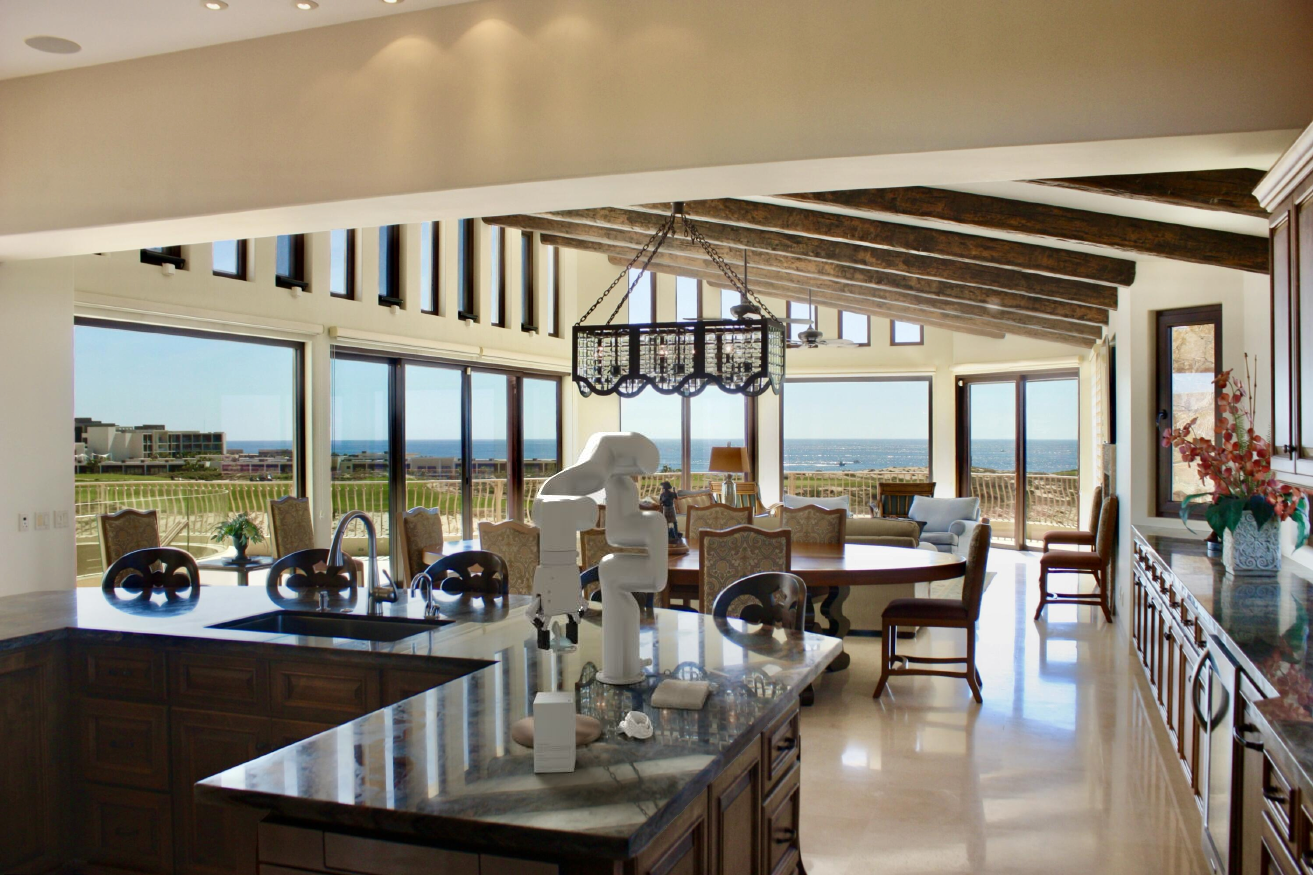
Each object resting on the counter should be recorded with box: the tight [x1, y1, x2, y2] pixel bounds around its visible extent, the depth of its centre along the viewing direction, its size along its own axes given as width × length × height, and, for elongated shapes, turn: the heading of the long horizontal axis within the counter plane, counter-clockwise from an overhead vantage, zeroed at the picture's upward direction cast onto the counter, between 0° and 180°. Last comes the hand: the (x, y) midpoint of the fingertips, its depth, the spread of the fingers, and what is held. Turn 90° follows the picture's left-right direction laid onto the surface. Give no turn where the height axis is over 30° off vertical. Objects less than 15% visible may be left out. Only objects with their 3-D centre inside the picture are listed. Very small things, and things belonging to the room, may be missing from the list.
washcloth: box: [650, 678, 711, 710], centre depth 205 cm, size 12×18×3 cm, turn 170°
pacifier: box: [549, 620, 578, 655], centre depth 180 cm, size 7×6×6 cm
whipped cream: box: [615, 710, 654, 740], centre depth 179 cm, size 8×7×5 cm
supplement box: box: [532, 691, 577, 774], centre depth 161 cm, size 7×7×13 cm
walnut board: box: [511, 713, 602, 748], centre depth 179 cm, size 18×18×2 cm
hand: (557, 645), depth 180 cm, fingers closed on pacifier, 6 cm apart
